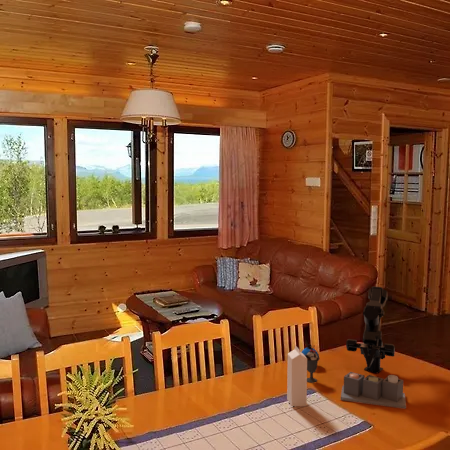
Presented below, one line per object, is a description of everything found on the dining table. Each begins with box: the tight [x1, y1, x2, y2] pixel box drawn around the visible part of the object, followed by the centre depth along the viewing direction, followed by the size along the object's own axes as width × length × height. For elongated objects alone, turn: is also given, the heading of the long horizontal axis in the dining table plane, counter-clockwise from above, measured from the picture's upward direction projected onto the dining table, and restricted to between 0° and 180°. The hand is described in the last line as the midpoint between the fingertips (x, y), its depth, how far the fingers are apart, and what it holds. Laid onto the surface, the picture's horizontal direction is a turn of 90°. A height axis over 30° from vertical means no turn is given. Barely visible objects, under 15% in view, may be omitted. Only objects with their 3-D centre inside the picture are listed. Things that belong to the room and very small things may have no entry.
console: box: [340, 371, 407, 409], centre depth 189 cm, size 11×24×8 cm, turn 72°
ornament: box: [301, 343, 320, 358], centre depth 222 cm, size 9×9×10 cm
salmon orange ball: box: [350, 372, 359, 379], centre depth 192 cm, size 4×4×4 cm
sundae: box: [305, 345, 320, 384], centre depth 206 cm, size 7×7×15 cm
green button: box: [368, 375, 378, 382], centre depth 189 cm, size 4×4×4 cm
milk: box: [286, 345, 308, 407], centre depth 185 cm, size 6×6×22 cm
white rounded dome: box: [387, 374, 399, 384], centre depth 187 cm, size 4×4×4 cm
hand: (368, 367), depth 191 cm, fingers closed
